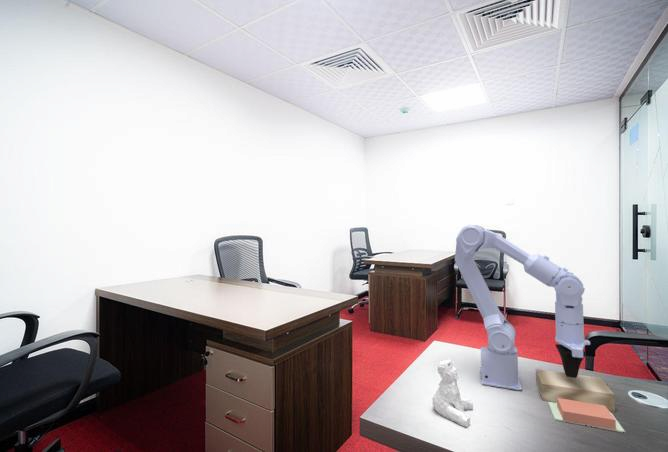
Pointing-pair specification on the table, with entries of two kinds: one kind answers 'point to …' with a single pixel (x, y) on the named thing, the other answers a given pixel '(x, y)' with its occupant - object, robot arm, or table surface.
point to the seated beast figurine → (451, 396)
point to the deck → (574, 388)
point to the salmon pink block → (586, 413)
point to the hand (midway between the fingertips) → (571, 376)
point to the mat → (558, 417)
